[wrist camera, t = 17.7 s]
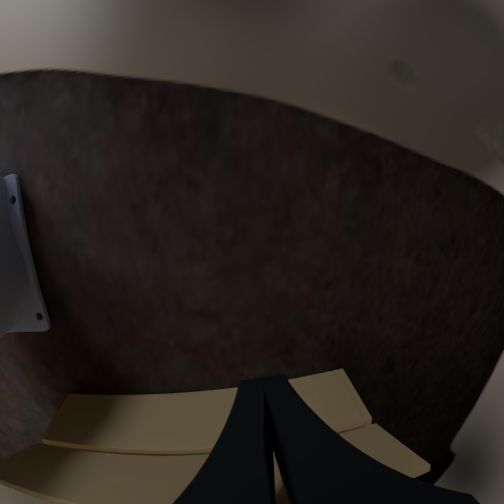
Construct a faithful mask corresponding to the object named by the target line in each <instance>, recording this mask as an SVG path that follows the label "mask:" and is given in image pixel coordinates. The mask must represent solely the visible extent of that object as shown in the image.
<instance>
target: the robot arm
mask: <svg viewBox="0 0 504 504" xmlns="http://www.w3.org/2000/svg"><path fill="white" fill-rule="evenodd" d="M14 196H15V198H16V202H15V203H14ZM39 313H41V314H42V316H43V318H42V317H41V316H40V314H39ZM50 327H51V321H50V318H49V315H48V312H47V309H46V306H45V302H44V299H43V296H42V292H41V289H40V285H39V281H38V278H37V274H36V270H35V266H34V262H33V257H32V253H31V248H30V243H29V238H28V233H27V228H26V222H25V216H24V210H23V203H22V195H21V187H20V179H19V177H18V175H16V174H11V175H8V176H6V177H0V337H1V336H2V335H3V334H5V333H6V332H38V331H47V330H48V329H49V328H50ZM273 452H274V455H275V458H276V462H277V465H278V469H279V472H280V475H281V478H282V482H283V485H284V488H285V492H286V495H287V498H288V501H289V504H480V503H479V502H478V501H477V500H476V499H475V498H474V497H473V496H472V495H471V494H466V493H462V492H457V491H453V490H449V489H444V488H441V487H437V486H434V485H431V484H428V483H425V482H423V481H420V480H417V479H415V478H412V477H409V476H407V475H405V474H403V473H401V472H399V471H397V470H395V469H393V468H390V467H388V466H386V465H384V464H382V463H380V462H379V461H377V460H375V459H374V458H372V457H370V456H369V455H367V454H365V453H364V452H362V451H361V450H359V449H358V448H356V447H355V446H353V445H352V444H351V443H349V442H348V441H347V440H345V439H344V438H343V437H341V436H340V435H339V434H338V433H336V432H335V431H334V430H333V429H332V428H331V427H329V426H328V425H327V424H326V423H325V422H324V421H323V420H322V419H321V418H320V417H319V416H318V415H317V414H316V413H315V412H314V411H313V410H312V409H311V408H310V407H309V406H308V405H307V404H306V403H305V402H304V400H303V399H302V398H301V397H300V396H299V394H298V393H297V392H296V391H295V389H294V388H293V387H292V385H291V384H290V382H289V381H288V379H287V378H286V376H284V375H283V374H280V375H274V376H268V377H261V378H254V379H247V380H241V381H240V382H239V383H238V389H237V393H236V397H235V400H234V403H233V406H232V409H231V411H230V414H229V416H228V418H227V421H226V423H225V426H224V428H223V430H222V432H221V434H220V436H219V438H218V440H217V442H216V443H215V445H214V447H213V449H212V451H211V453H210V454H209V456H208V458H207V459H206V461H205V462H204V464H203V465H202V467H201V468H200V470H199V471H198V473H197V474H196V476H195V477H194V478H193V480H192V481H191V482H190V483H189V485H188V486H187V487H186V488H185V490H184V491H183V492H182V493H181V494H180V496H179V497H178V498H177V499H176V500H175V501H174V502H173V503H172V504H276V491H275V473H274V455H273Z"/></svg>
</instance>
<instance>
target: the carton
mask: <svg viewBox="0 0 504 504" xmlns="http://www.w3.org/2000/svg"><path fill="white" fill-rule="evenodd" d="M288 381H289V382H290V384H291V385H292V387H293V388H294V389H295V391H296V392H297V393H298V394H299V396H300V397H301V398H302V399H303V400H304V402H305V403H306V404H307V405H308V406H309V407H310V408H311V409H312V410H313V411H314V412H315V413H316V414H317V415H318V416H319V417H320V418H321V419H322V420H323V421H324V422H325V423H326V424H327V425H328V426H329V427H331V428H332V429H333V430H334V431H335V432H336V433H338V434H340V433H344V432H348V431H351V430H355V429H359V428H362V427H365V426H369V425H371V422H372V417H371V415H370V414H369V412H368V410H367V409H366V407H365V405H364V403H363V402H362V400H361V398H360V397H359V395H358V393H357V392H356V390H355V388H354V387H353V385H352V383H351V382H350V380H349V378H348V376H347V375H346V373H345V371H344V370H343V369H338V370H334V371H329V372H324V373H320V374H315V375H310V376H305V377H300V378H294V379H289V380H288ZM237 389H238V387H236V388H228V389H219V390H209V391H198V392H185V393H170V394H147V395H88V394H69V395H68V397H67V398H66V400H65V401H64V403H63V404H62V406H61V407H60V409H59V410H58V412H57V414H56V415H55V417H54V418H53V420H52V421H51V423H50V425H49V426H48V428H47V429H46V431H45V433H44V434H43V436H42V438H41V439H42V441H43V442H44V444H46V445H51V446H57V447H63V448H69V449H76V450H83V451H92V452H101V453H110V452H119V453H137V454H166V455H181V454H193V453H211V451H212V449H213V447H214V445H215V443H216V442H217V440H218V438H219V436H220V434H221V432H222V430H223V428H224V426H225V423H226V421H227V418H228V416H229V414H230V411H231V409H232V406H233V403H234V400H235V397H236V393H237Z"/></svg>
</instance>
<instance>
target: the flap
mask: <svg viewBox="0 0 504 504" xmlns="http://www.w3.org/2000/svg"><path fill="white" fill-rule="evenodd" d="M339 435H340V436H341V437H343V438H344V439H345V440H347V441H348V442H349V443H351V444H352V445H353V446H355V447H356V448H358V449H359V450H361V451H362V452H364V453H365V454H367V455H369V456H370V457H372V458H374V459H375V460H377V461H379V462H380V463H382V464H384V465H386V466H388V467H390V468H393V469H395V470H397V471H399V472H401V473H403V474H405V475H407V476H409V477H412V478H415V477H417V476H420V475H422V474H424V473H426V472H428V471H430V464H429V463H427V462H426V461H425V460H423V459H422V458H421V457H419V456H418V455H417V454H415V453H414V452H413V451H411V450H410V449H409V448H407V447H406V446H405V445H403V444H402V443H401V442H399V441H398V440H397V439H395V438H394V437H393V436H392V435H390V434H389V433H388V432H386V431H385V430H384V429H382V428H381V427H380V426H379V425H377V424H376V423H375V424H372V425H369V426H365V427H362V428H359V429H355V430H351V431H348V432H344V433H340V434H339ZM273 455H274V452H273ZM208 456H209V454H206V455H182V456H149V455H126V454H112V453H101V452H92V451H83V450H76V449H69V448H63V447H57V446H51V445H46V444H41V443H35V444H33V445H31V446H29V447H27V448H25V449H23V450H21V451H19V452H17V453H15V454H13V455H11V456H9V457H7V458H5V459H3V460H1V461H0V484H2V485H5V486H7V487H9V488H12V489H15V490H17V491H20V492H23V493H26V494H28V495H32V496H34V497H37V498H40V499H44V500H47V501H50V502H54V503H57V504H172V503H173V502H174V501H175V500H176V499H177V498H178V497H179V496H180V494H181V493H182V492H183V491H184V490H185V488H186V487H187V486H188V485H189V483H190V482H191V481H192V480H193V478H194V477H195V476H196V474H197V473H198V471H199V470H200V468H201V467H202V465H203V464H204V462H205V461H206V459H207V458H208ZM274 473H275V491H276V504H289V501H288V498H287V495H286V492H285V488H284V485H283V482H282V478H281V475H280V472H279V469H278V465H277V462H276V458H275V455H274Z"/></svg>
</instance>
